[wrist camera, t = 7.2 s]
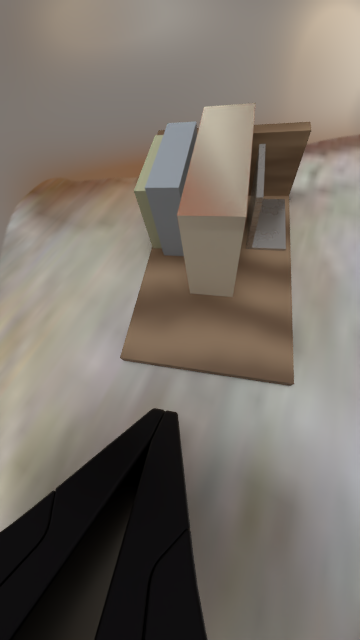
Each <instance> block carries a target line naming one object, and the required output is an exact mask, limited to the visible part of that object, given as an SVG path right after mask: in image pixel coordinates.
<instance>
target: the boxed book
mask: <svg viewBox="0 0 360 640" xmlns="http://www.w3.org/2000/svg"><path fill="white" fill-rule="evenodd" d="M254 115H255V103H249V104H236V105H223V106H211V107H204V110H203V114H202V118H201V122H200V126H199V130H198V134H197V138H196V142H195V146H194V150H193V154H192V158H191V162H190V166H189V170H188V174H187V177H186V181H185V185H184V189H183V193H182V197H181V201H180V205H179V209H178V213H177V219H178V225H179V229H180V235H181V241H182V247H183V253H184V259H185V265H186V272H187V278H188V284H189V290H190V293H192V294H203V295H215V296H227V297H233V292H234V286H235V280H236V274H237V268H238V262H239V256H240V250H241V244H242V238H243V232H244V228H245V222H246V216H247V203H248V191H249V178H250V165H251V153H252V140H253V128H254Z"/></svg>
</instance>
